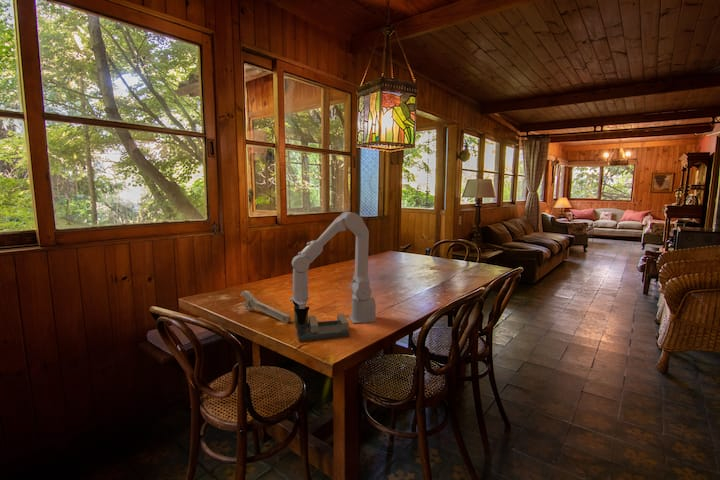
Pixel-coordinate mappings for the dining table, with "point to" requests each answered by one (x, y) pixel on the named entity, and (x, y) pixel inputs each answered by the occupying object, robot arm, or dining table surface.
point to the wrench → (263, 307)
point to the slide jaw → (313, 324)
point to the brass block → (297, 318)
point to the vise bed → (325, 330)
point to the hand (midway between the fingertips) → (300, 320)
